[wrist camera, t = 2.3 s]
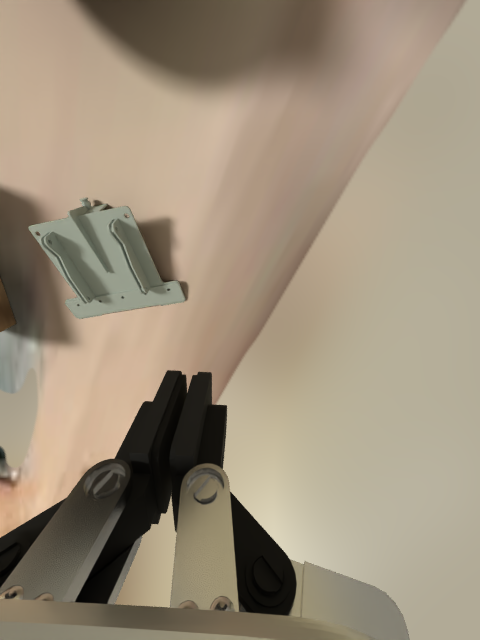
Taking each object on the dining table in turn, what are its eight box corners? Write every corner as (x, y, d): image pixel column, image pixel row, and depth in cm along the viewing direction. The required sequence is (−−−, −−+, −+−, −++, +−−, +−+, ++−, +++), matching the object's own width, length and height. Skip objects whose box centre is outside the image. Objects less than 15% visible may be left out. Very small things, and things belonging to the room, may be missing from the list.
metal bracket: (-9, 229, 26) (138, 198, 24) (26, 208, 30) (152, 181, 29) (76, 334, 35) (186, 316, 34) (93, 306, 40) (192, 290, 38)
